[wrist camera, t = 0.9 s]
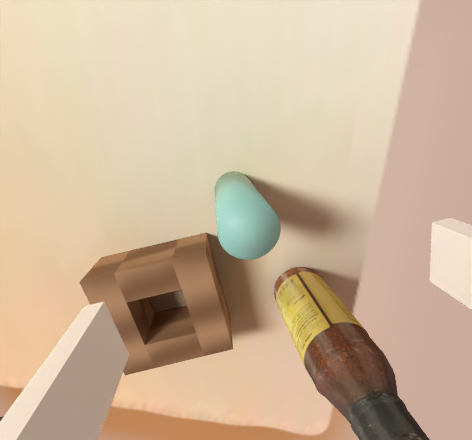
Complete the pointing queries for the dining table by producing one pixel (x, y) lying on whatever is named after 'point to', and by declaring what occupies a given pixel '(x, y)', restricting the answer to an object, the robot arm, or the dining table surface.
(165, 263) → the socket block
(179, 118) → the dining table surface
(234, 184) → the dowel
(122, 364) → the robot arm
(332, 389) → the sauce bottle
